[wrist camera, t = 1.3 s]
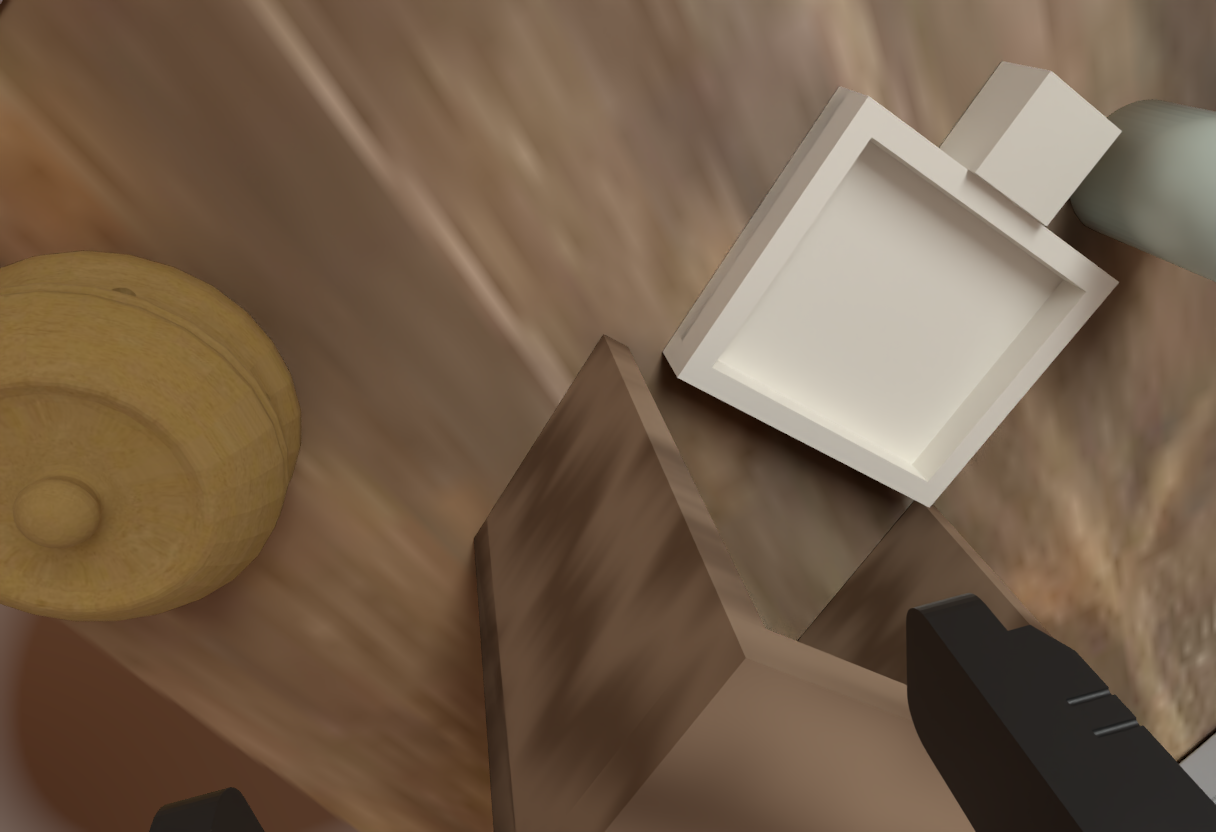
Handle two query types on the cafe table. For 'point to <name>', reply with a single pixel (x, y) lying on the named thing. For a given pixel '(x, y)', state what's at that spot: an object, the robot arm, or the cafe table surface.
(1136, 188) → the pale green rounded cylinder
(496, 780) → the wood grain block
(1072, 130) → the tray
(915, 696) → the robot arm
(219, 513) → the pot
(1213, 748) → the tea box
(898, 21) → the cafe table surface
